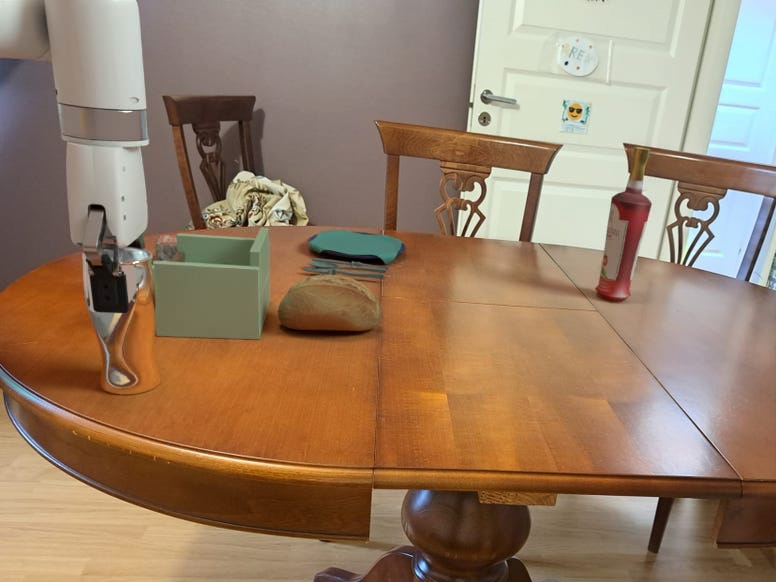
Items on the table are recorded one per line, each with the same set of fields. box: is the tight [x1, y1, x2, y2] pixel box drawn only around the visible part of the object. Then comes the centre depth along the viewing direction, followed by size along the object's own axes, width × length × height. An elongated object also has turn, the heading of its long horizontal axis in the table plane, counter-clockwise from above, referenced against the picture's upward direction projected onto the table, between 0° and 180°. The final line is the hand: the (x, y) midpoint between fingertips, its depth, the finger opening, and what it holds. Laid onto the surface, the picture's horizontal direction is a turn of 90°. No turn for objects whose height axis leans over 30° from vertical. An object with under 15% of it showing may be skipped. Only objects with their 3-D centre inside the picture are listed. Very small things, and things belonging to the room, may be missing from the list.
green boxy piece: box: [153, 227, 271, 341], centre depth 94 cm, size 13×16×12 cm
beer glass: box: [81, 247, 162, 396], centre depth 72 cm, size 7×7×15 cm
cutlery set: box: [302, 229, 407, 280], centre depth 132 cm, size 20×30×2 cm, turn 0°
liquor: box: [594, 146, 653, 303], centre depth 123 cm, size 7×7×28 cm
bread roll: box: [277, 274, 384, 332], centre depth 96 cm, size 10×15×8 cm, turn 102°
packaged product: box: [154, 234, 177, 262], centre depth 117 cm, size 18×5×10 cm
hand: (122, 298), depth 71 cm, fingers closed on beer glass, 7 cm apart
